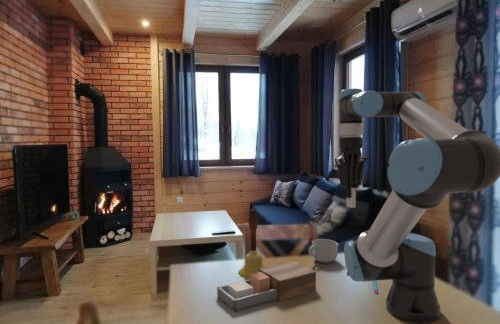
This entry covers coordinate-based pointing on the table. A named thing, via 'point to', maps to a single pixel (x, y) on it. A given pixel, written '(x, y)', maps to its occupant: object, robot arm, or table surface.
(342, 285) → the table surface
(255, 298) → the tray
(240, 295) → the white square block
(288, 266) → the wooden block
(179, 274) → the table surface
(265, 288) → the tile rear
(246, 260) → the handbell
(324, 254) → the teacup
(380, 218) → the robot arm
